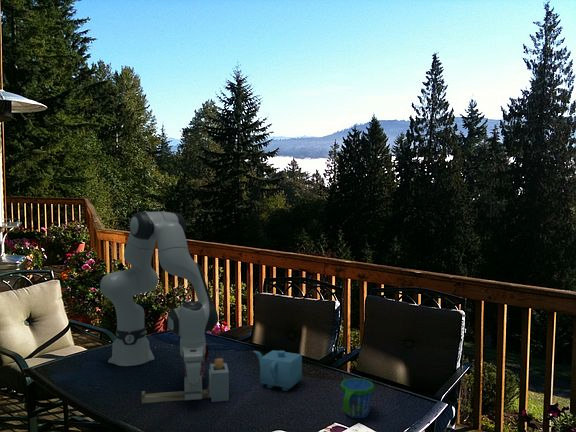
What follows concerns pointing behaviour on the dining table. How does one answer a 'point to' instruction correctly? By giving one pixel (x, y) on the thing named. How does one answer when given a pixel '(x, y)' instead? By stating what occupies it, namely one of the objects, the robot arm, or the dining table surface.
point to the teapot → (280, 369)
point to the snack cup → (357, 397)
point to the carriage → (193, 395)
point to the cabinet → (219, 383)
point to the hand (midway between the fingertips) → (193, 387)
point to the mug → (201, 363)
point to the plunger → (219, 364)
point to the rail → (169, 396)
